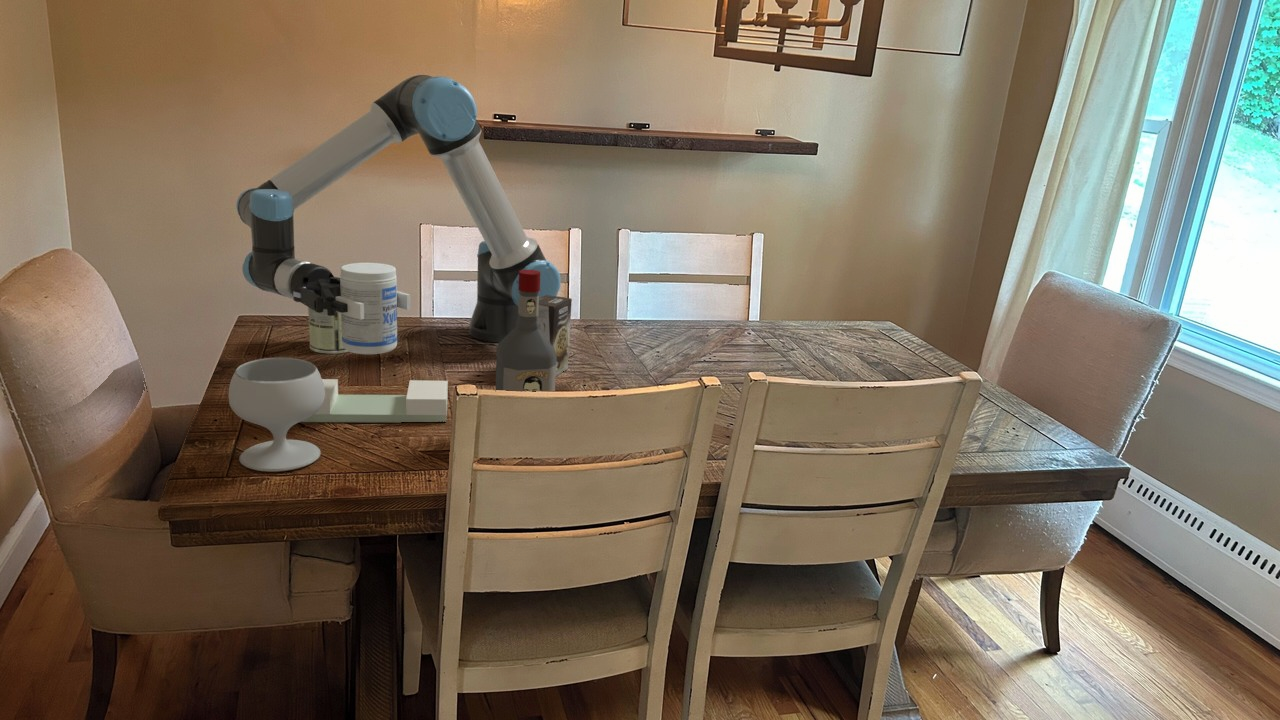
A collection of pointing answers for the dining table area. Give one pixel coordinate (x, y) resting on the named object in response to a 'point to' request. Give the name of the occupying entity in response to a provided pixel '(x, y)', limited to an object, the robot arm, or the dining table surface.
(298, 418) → the chalice
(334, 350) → the coffee can
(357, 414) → the rail
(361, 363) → the dining table surface
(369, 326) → the supplement tub
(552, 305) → the coffee box
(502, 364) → the liquor
